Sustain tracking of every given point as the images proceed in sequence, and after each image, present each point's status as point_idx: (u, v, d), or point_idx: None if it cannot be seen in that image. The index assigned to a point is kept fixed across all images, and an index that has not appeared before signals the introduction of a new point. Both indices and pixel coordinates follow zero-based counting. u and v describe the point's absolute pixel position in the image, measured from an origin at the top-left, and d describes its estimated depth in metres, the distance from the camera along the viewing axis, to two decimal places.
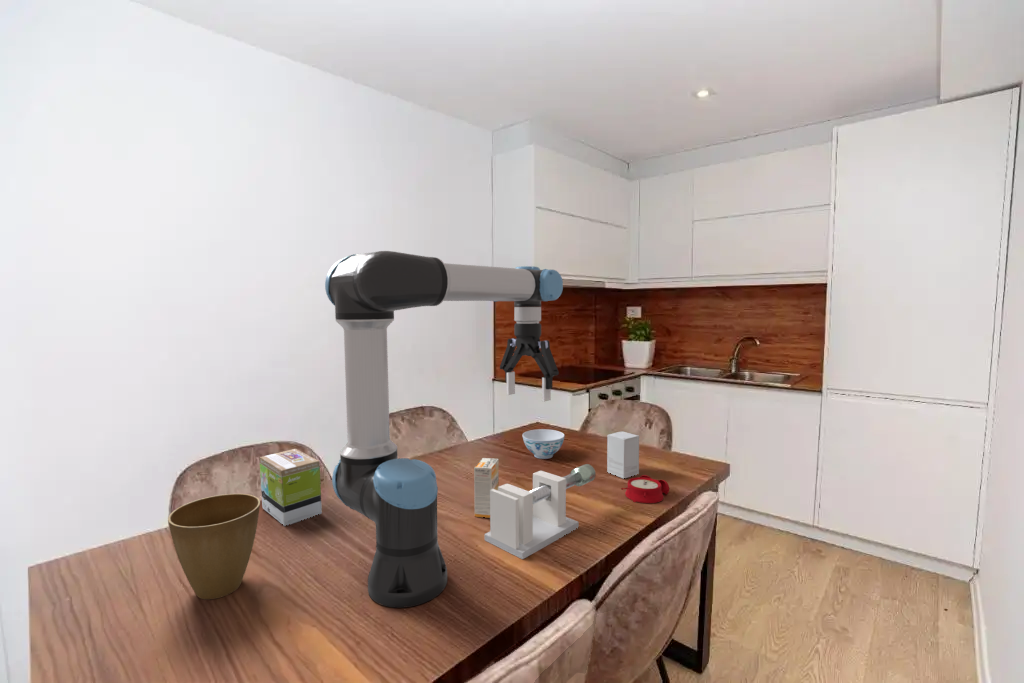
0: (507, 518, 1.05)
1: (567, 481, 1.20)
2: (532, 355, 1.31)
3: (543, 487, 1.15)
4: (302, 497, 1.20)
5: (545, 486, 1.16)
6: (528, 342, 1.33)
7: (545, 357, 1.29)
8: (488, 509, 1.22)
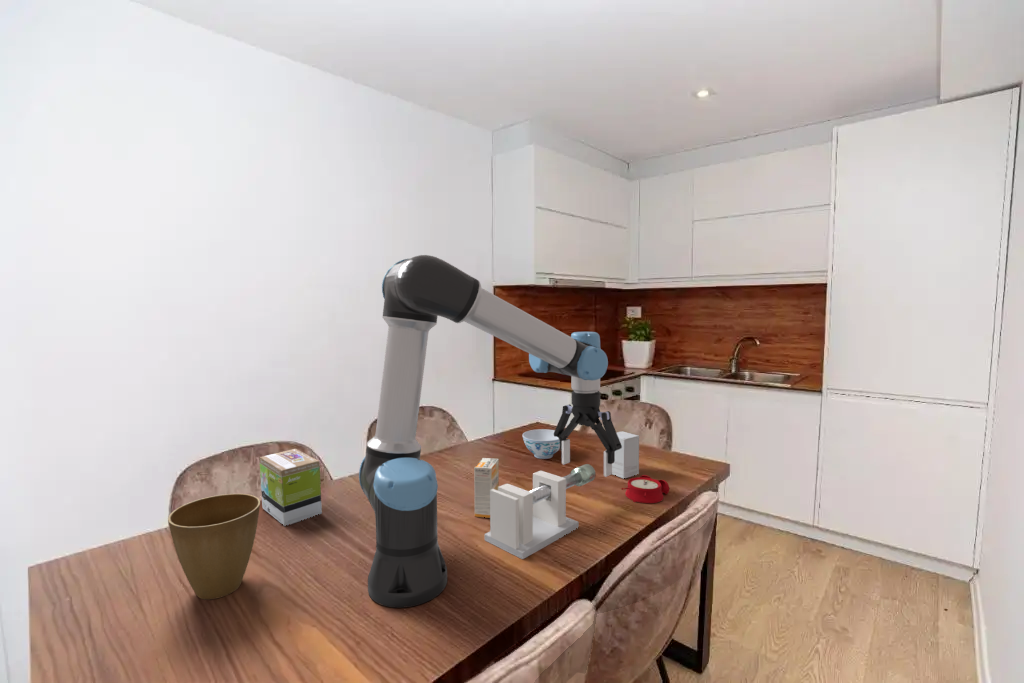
0: (507, 518, 1.05)
1: (567, 481, 1.20)
2: (592, 427, 1.23)
3: (543, 487, 1.15)
4: (302, 497, 1.20)
5: (545, 486, 1.16)
6: (587, 412, 1.25)
7: (607, 430, 1.21)
8: (488, 509, 1.22)
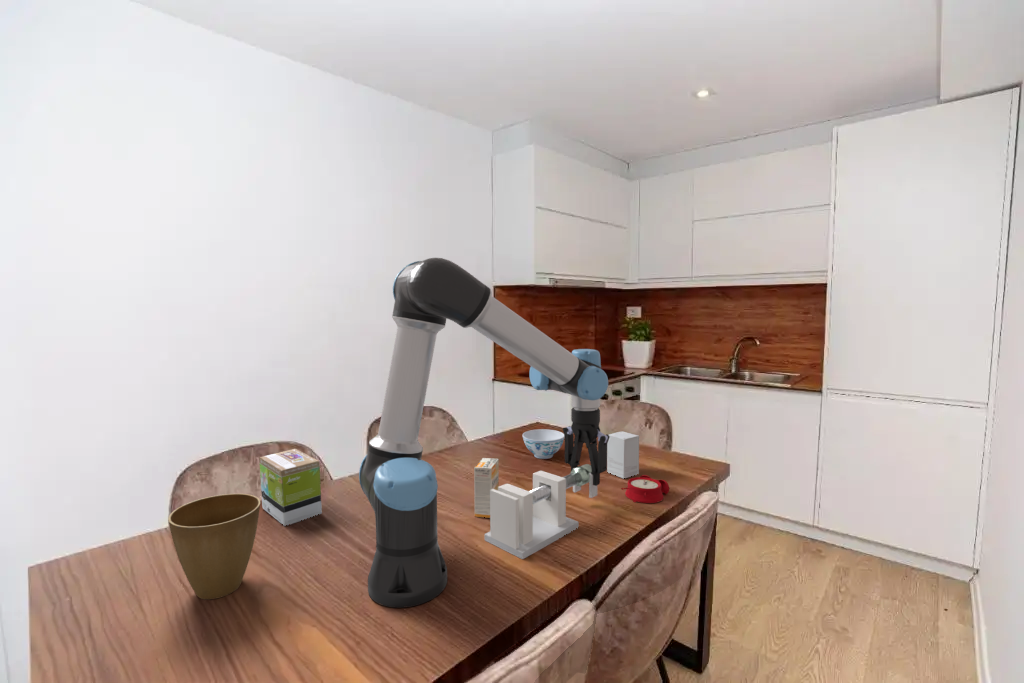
0: (507, 518, 1.05)
1: (567, 481, 1.20)
2: (587, 445, 1.25)
3: (543, 487, 1.15)
4: (302, 497, 1.20)
5: (545, 486, 1.16)
6: (588, 427, 1.25)
7: (600, 453, 1.23)
8: (488, 509, 1.22)
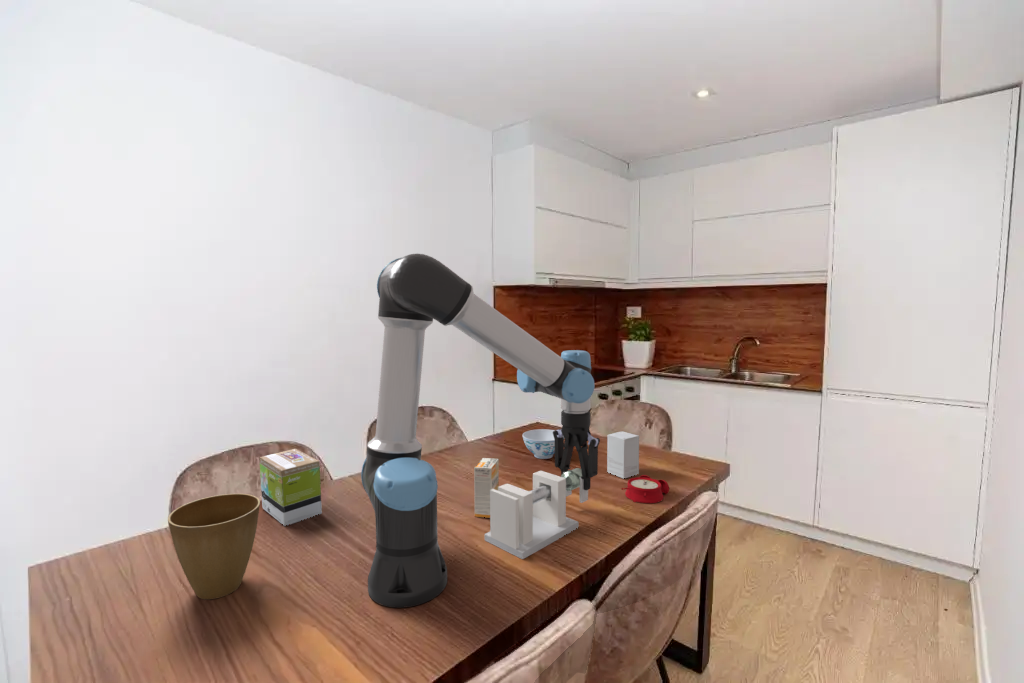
0: (507, 518, 1.05)
1: None
2: (577, 449, 1.22)
3: None
4: (302, 497, 1.20)
5: (533, 491, 1.12)
6: (578, 430, 1.22)
7: (590, 457, 1.20)
8: (488, 509, 1.22)
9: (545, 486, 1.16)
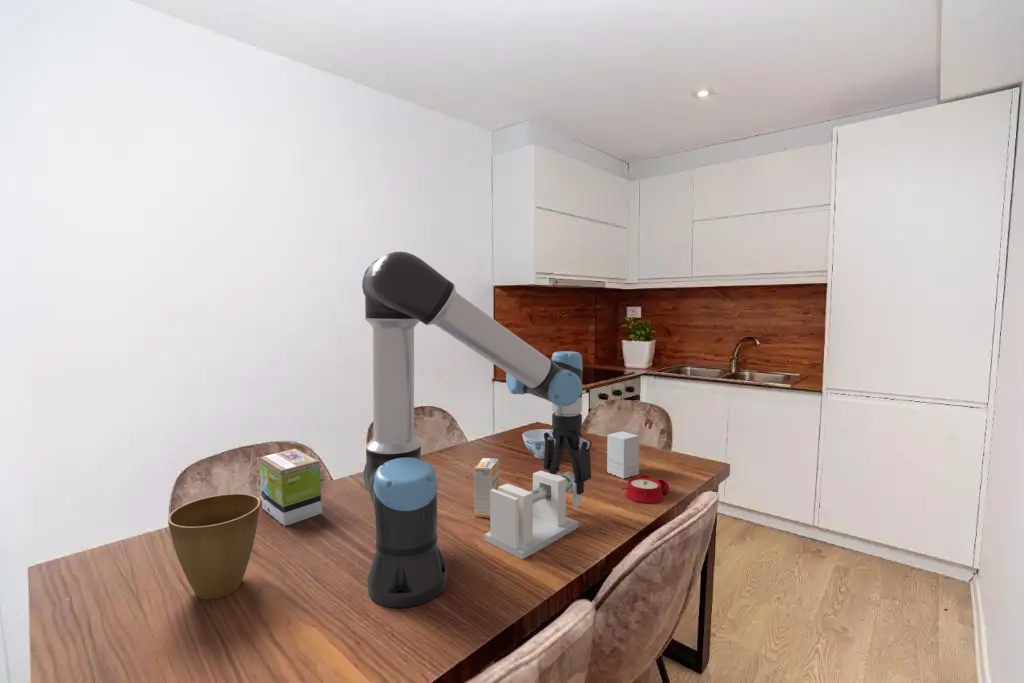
0: (507, 518, 1.05)
1: (546, 490, 1.15)
2: (569, 452, 1.19)
3: None
4: (302, 497, 1.20)
5: None
6: (568, 433, 1.19)
7: (582, 460, 1.17)
8: (488, 509, 1.22)
9: (535, 490, 1.13)
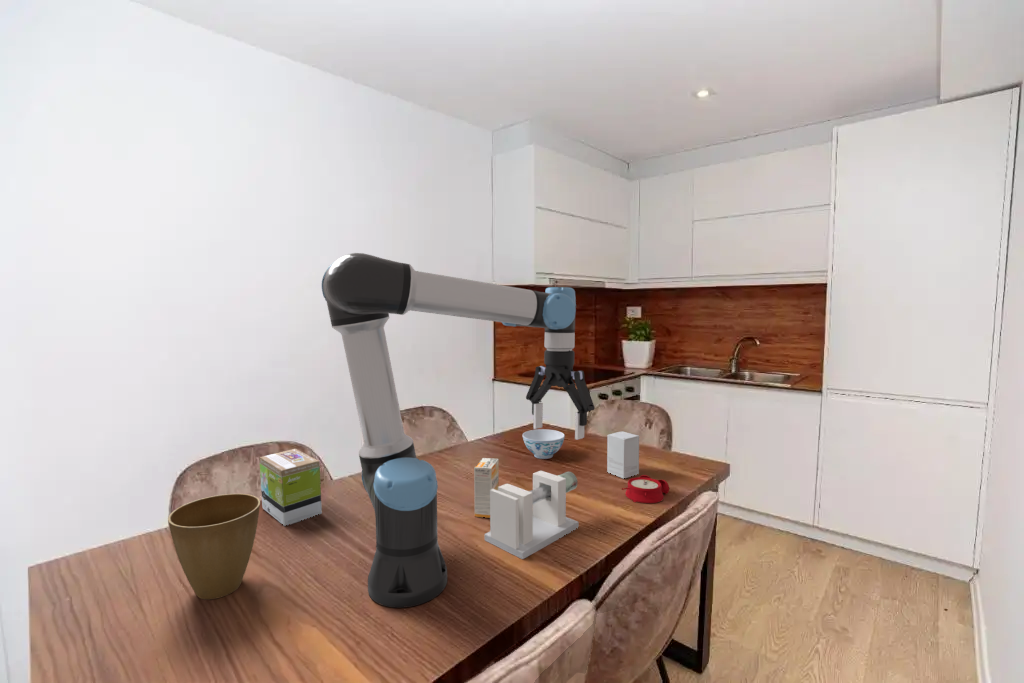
0: (507, 518, 1.05)
1: (546, 490, 1.15)
2: (564, 387, 1.17)
3: None
4: (302, 497, 1.20)
5: None
6: (560, 372, 1.18)
7: (579, 390, 1.14)
8: (488, 509, 1.22)
9: (535, 490, 1.13)
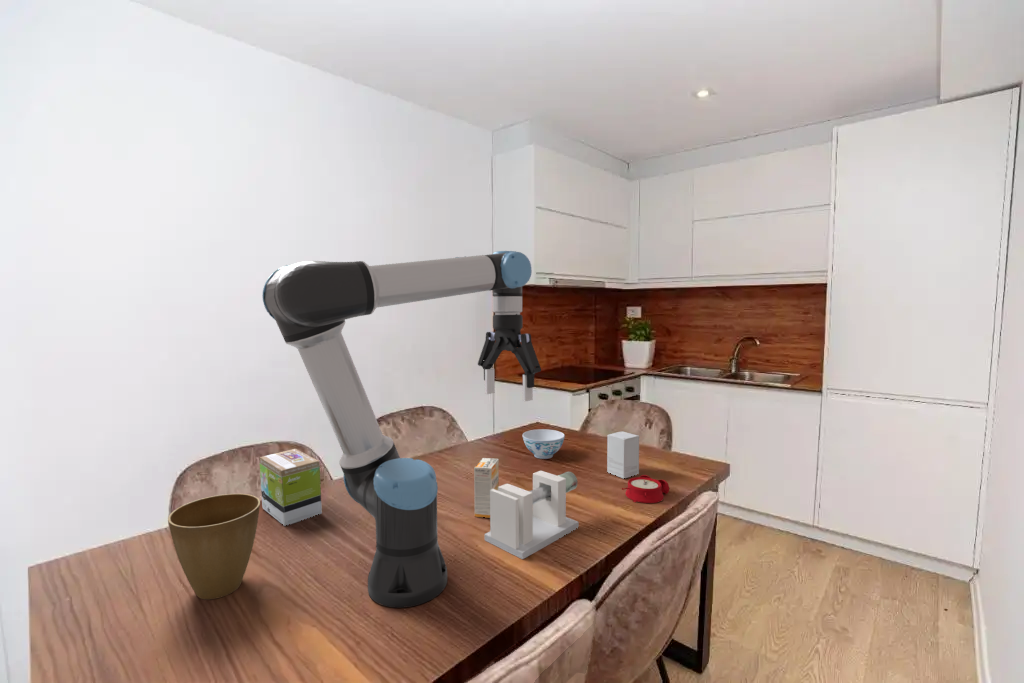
0: (507, 518, 1.05)
1: (546, 490, 1.15)
2: (512, 350, 1.18)
3: None
4: (302, 497, 1.20)
5: None
6: (508, 335, 1.19)
7: (526, 352, 1.15)
8: (488, 509, 1.22)
9: (535, 490, 1.13)
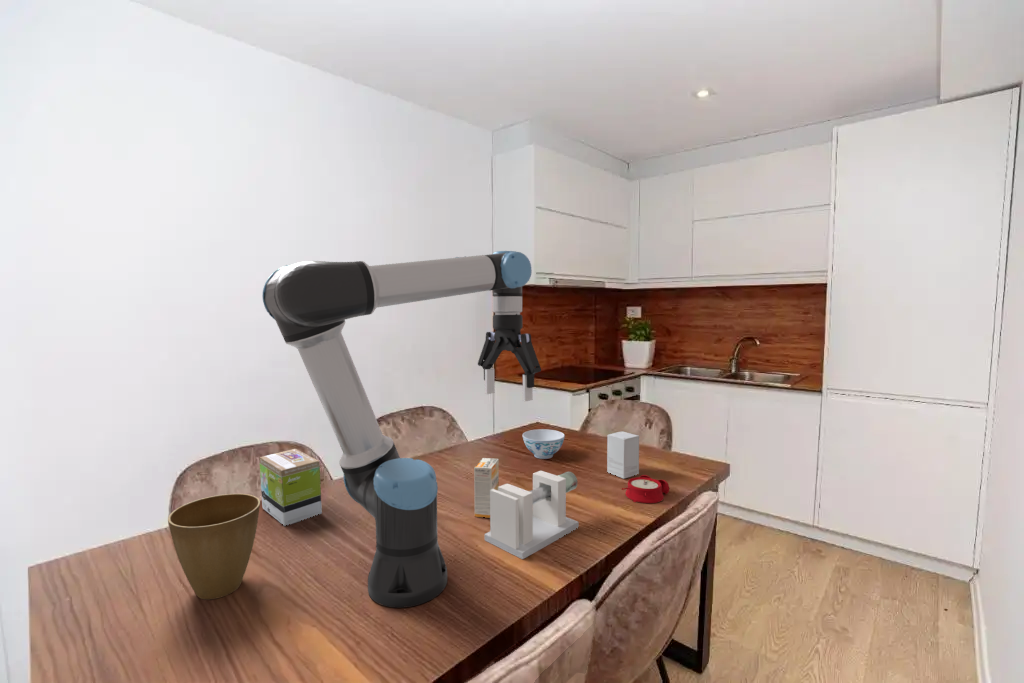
0: (507, 518, 1.05)
1: (546, 490, 1.15)
2: (512, 350, 1.18)
3: None
4: (302, 496, 1.20)
5: None
6: (508, 335, 1.19)
7: (526, 352, 1.15)
8: (488, 509, 1.22)
9: (535, 490, 1.13)
